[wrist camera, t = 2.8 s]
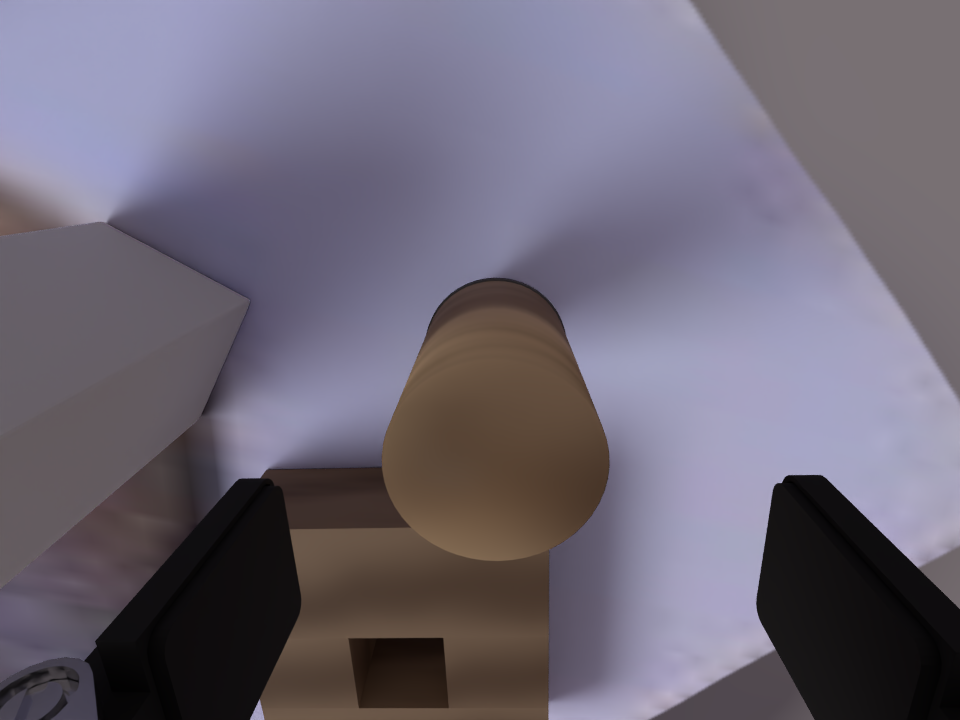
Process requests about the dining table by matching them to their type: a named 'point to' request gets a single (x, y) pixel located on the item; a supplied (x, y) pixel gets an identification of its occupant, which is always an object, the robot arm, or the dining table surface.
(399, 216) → the dining table surface
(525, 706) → the walnut block
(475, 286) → the oak peg
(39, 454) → the milk carton
